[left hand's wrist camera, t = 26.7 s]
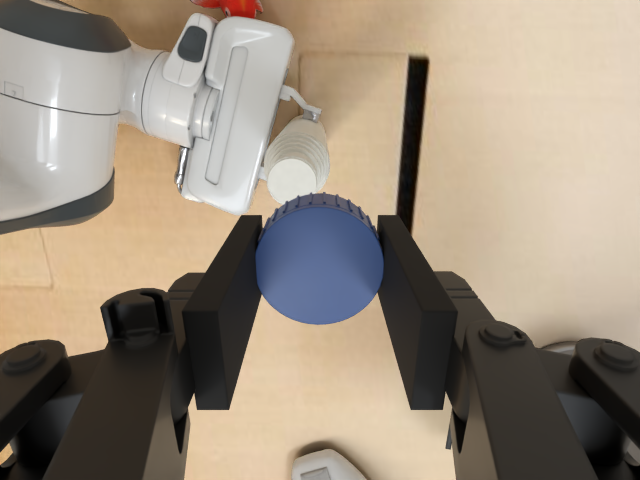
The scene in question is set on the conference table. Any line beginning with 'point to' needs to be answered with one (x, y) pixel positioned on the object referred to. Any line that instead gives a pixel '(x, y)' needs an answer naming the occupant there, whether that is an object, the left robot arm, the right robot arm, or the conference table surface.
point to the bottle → (297, 160)
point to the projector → (324, 467)
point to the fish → (233, 7)
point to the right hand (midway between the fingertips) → (311, 145)
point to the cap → (319, 259)
